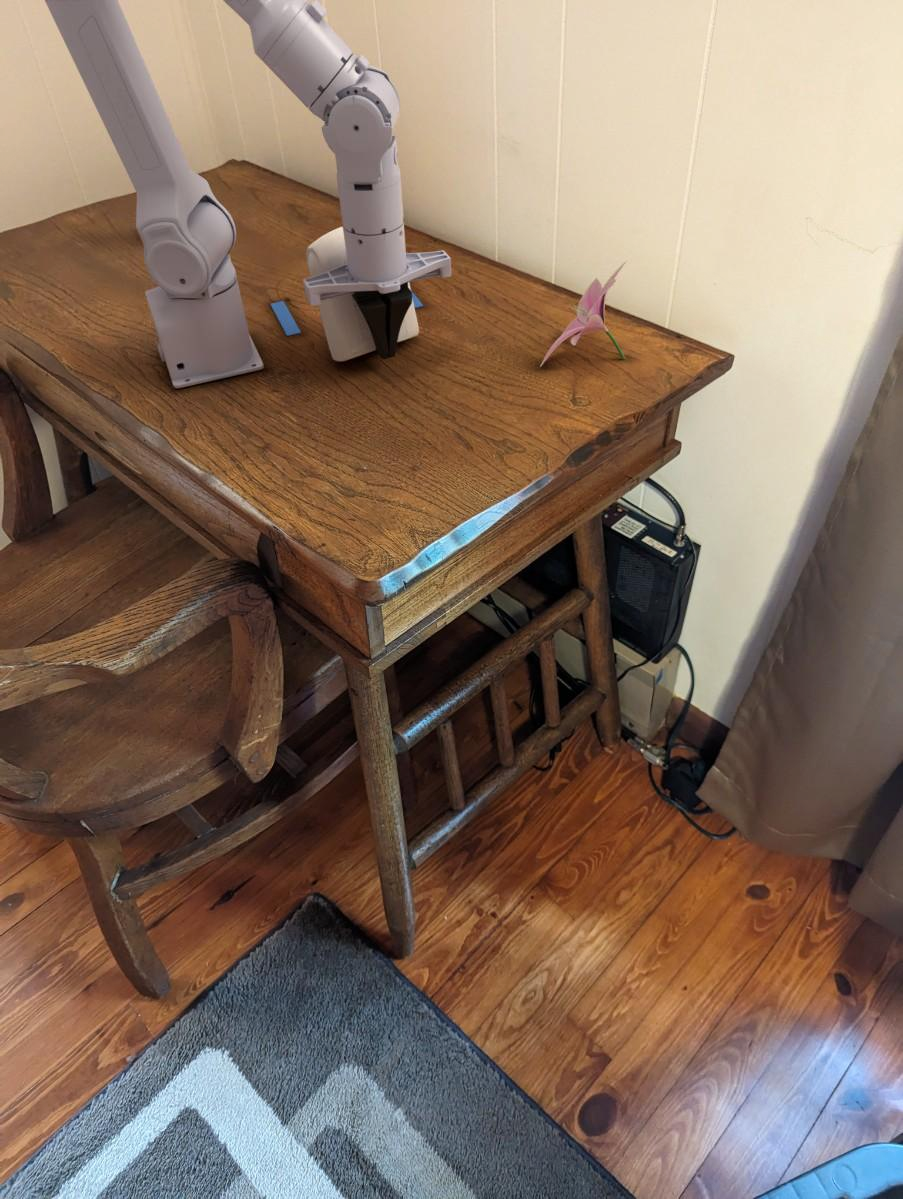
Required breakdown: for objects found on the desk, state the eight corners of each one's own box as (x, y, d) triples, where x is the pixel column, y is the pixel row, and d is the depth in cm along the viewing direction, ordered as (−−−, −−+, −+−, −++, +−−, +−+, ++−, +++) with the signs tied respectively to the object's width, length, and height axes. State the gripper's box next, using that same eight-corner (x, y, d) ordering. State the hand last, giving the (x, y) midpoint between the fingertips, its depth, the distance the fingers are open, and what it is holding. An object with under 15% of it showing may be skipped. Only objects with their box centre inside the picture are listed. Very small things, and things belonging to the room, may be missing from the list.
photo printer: (407, 330, 97) (381, 212, 90) (426, 334, 94) (401, 212, 87) (326, 359, 93) (292, 238, 87) (343, 365, 90) (310, 240, 83)
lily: (603, 325, 98) (565, 252, 93) (687, 321, 89) (651, 240, 84) (541, 397, 95) (498, 326, 90) (622, 401, 86) (580, 323, 80)
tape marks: (287, 336, 97) (287, 335, 97) (270, 304, 102) (270, 303, 102) (423, 306, 100) (423, 305, 100) (400, 277, 106) (400, 276, 106)
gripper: (308, 254, 77) (329, 388, 86) (461, 224, 80) (464, 356, 90) (289, 224, 81) (311, 354, 91) (434, 196, 85) (440, 325, 94)
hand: (385, 353), depth 91 cm, fingers closed
